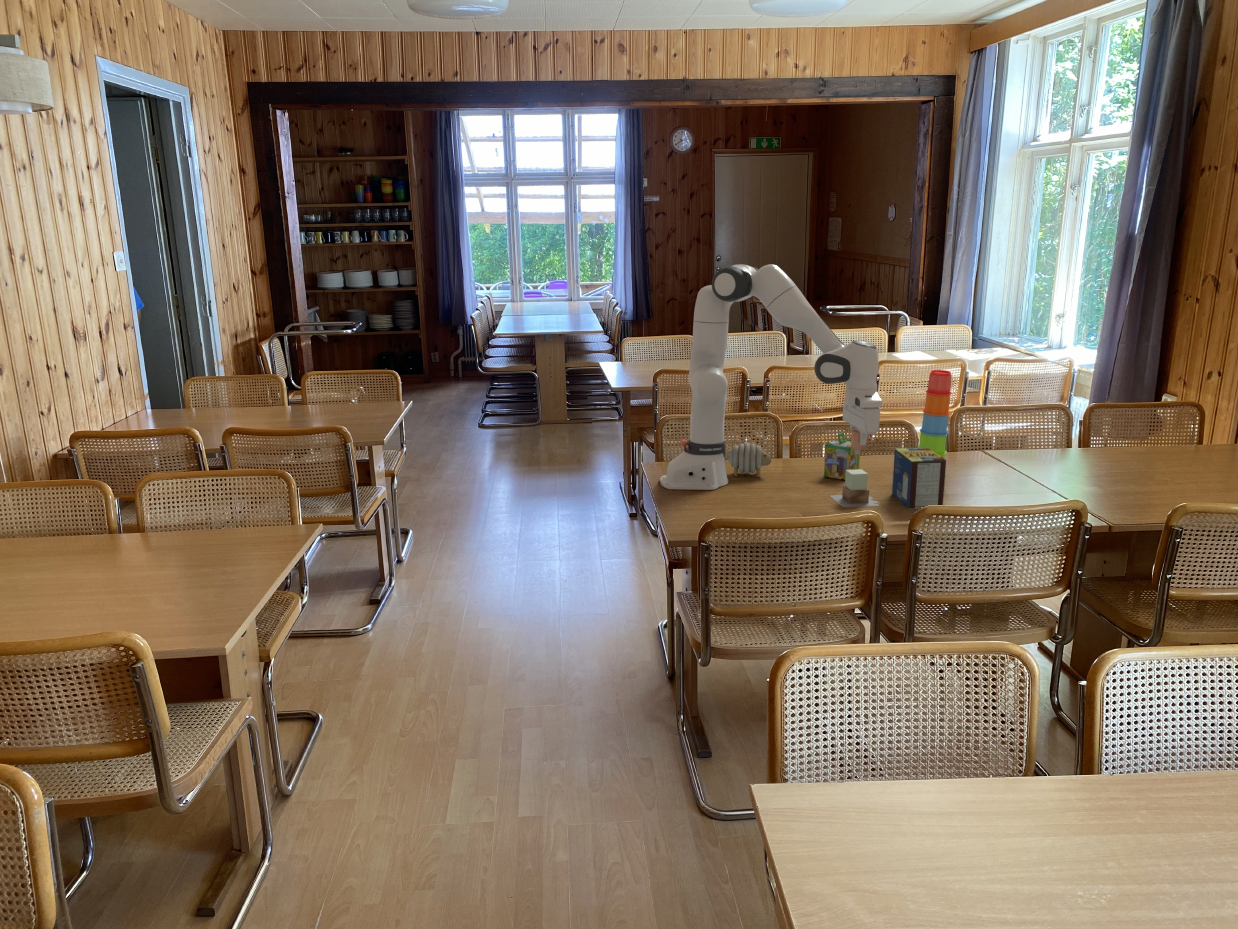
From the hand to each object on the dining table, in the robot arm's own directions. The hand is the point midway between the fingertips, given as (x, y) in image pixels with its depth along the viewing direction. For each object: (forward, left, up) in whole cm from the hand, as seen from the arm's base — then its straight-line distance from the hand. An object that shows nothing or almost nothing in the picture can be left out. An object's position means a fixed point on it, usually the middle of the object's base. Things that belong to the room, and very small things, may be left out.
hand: (858, 442), depth 269 cm
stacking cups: (+37, +30, -19) cm, 51 cm away
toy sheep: (-25, +36, -19) cm, 48 cm away
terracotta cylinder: (0, 0, -2) cm, 2 cm away
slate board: (0, 0, -19) cm, 19 cm away
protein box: (+18, -3, -19) cm, 26 cm away
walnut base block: (0, 0, -18) cm, 18 cm away
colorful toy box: (+6, +29, -19) cm, 35 cm away
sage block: (0, 0, -14) cm, 14 cm away
